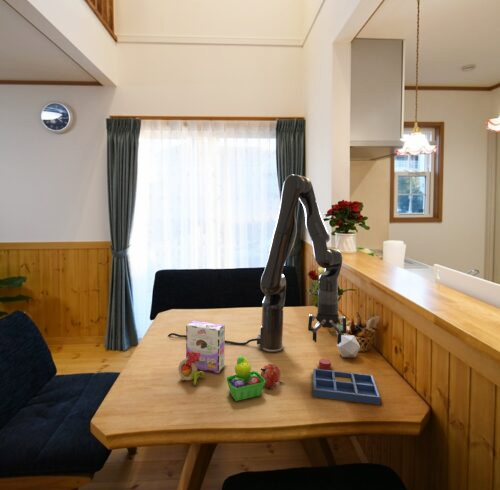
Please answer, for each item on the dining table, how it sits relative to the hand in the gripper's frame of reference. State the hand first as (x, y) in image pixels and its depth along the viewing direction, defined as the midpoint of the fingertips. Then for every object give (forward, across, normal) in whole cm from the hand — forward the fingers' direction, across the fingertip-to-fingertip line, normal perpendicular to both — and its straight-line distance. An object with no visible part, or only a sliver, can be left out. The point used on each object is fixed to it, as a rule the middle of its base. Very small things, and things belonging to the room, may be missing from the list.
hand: (326, 342), depth 132 cm
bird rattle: (+10, +48, +20) cm, 52 cm away
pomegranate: (+10, +20, +16) cm, 27 cm away
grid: (+10, -5, +13) cm, 18 cm away
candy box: (+10, +46, +9) cm, 47 cm away
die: (+10, -10, -13) cm, 19 cm away
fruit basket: (+10, +28, +23) cm, 37 cm away
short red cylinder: (+10, 0, 0) cm, 10 cm away
